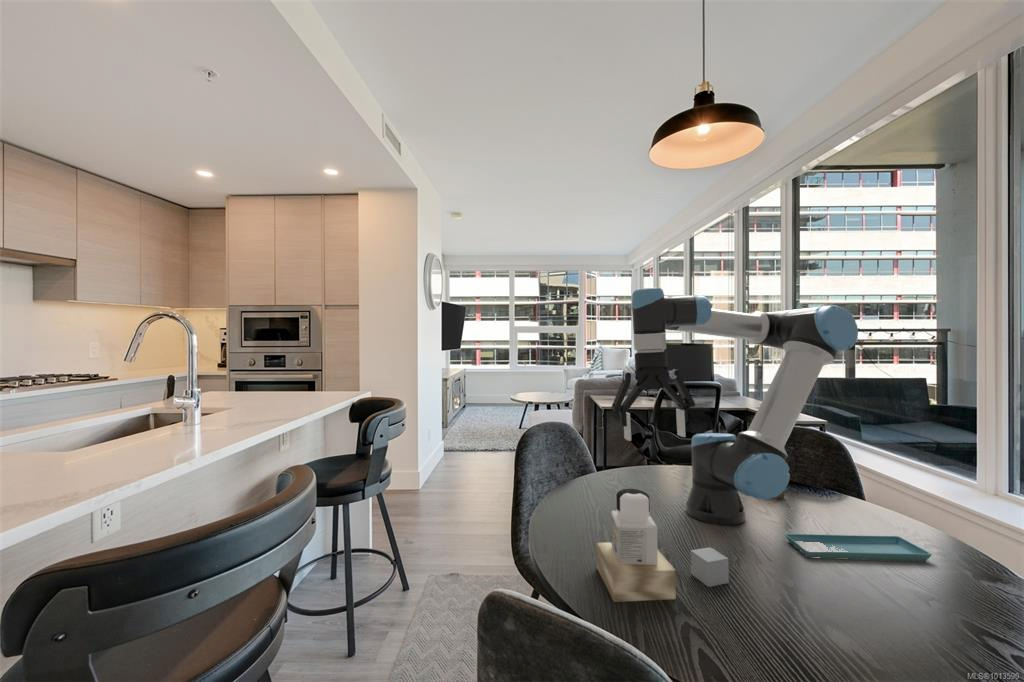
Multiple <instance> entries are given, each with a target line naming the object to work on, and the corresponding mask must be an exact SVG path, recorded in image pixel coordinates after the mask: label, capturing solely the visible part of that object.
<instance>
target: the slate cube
mask: <svg viewBox="0 0 1024 682" xmlns="http://www.w3.org/2000/svg"><path fill="white" fill-rule="evenodd" d="M729 569H730V568H729V558H728V557H727V556H725V555H724V554H722V553H721V552H719V551H718V550H715V549H714V548H712V547H703V548H698V549H691V550H690V574H691V575H692V576H693V577H694V578H696V579H697V580H698V581H700V582H701V583H703V584H704V585H705V586H707V587H708V588H710V587H715V586H720V585H727V584H729V582H730V580H729V579H730V578H729V577H730V575H729V572H730V571H729Z"/></svg>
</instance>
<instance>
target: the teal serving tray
mask: <svg viewBox="0 0 1024 682" xmlns="http://www.w3.org/2000/svg"><path fill="white" fill-rule="evenodd" d="M785 537H786V538H787V541H788V542H789V543H790V542H791V543H792V544H793V546H794V545H795V546H796V547H797V548H798V549H797V548H796V547H795V546H794V547H795V548H796V549H797V550H799V551H800V550H801V551H802V552H803V553H804V556H806V555H807V556H808V557H807V556H806V557H807V558H809V557H820V558H819V559H827V558H848V559H847V560H855V559H865V560H864V561H886V562H888V561H889V562H890V561H891V562H923V563H924V562H927V561H928V560H929V559H930V558H931V557H932V556H933V553H931V552H929V551H927V550H925V548H924V549H923V548H921V547H920V546H918V545H916V544H914V543H912V542H910V541H909V540H906V539H905V538H903V537H901V536H898V535H853V534H852V535H851V534H850V535H848V534H847V535H846V534H841V535H840V534H812V533H810V534H805V533H802V534H801V533H785ZM795 541H803V542H820V543H823V544H824V545H826V547H828V550H829V548H830V547H833V546H835V549H836V548H838V549H836V550H838V551H839V549H840V550H841V548H842V549H844V550H845V551H848V552H833V551H832V552H828V551H827V552H809V551H806V550H805V549H803V548H802V547H801V546H800V545H799V544H797V543H796V542H795ZM791 543H790V544H791ZM792 544H791V545H792ZM832 545H833V546H832ZM830 549H831V548H830ZM844 550H842V551H844ZM801 551H800V552H801ZM830 551H831V550H830ZM802 552H801V553H802ZM803 553H802V554H803Z"/></svg>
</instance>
